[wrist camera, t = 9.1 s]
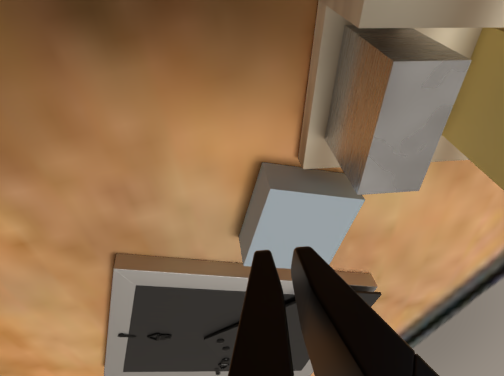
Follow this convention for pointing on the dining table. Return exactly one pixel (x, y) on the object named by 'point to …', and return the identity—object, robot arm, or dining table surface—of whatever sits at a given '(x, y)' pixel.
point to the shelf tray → (383, 16)
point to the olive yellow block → (482, 107)
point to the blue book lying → (297, 213)
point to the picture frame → (192, 315)
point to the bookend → (391, 106)
